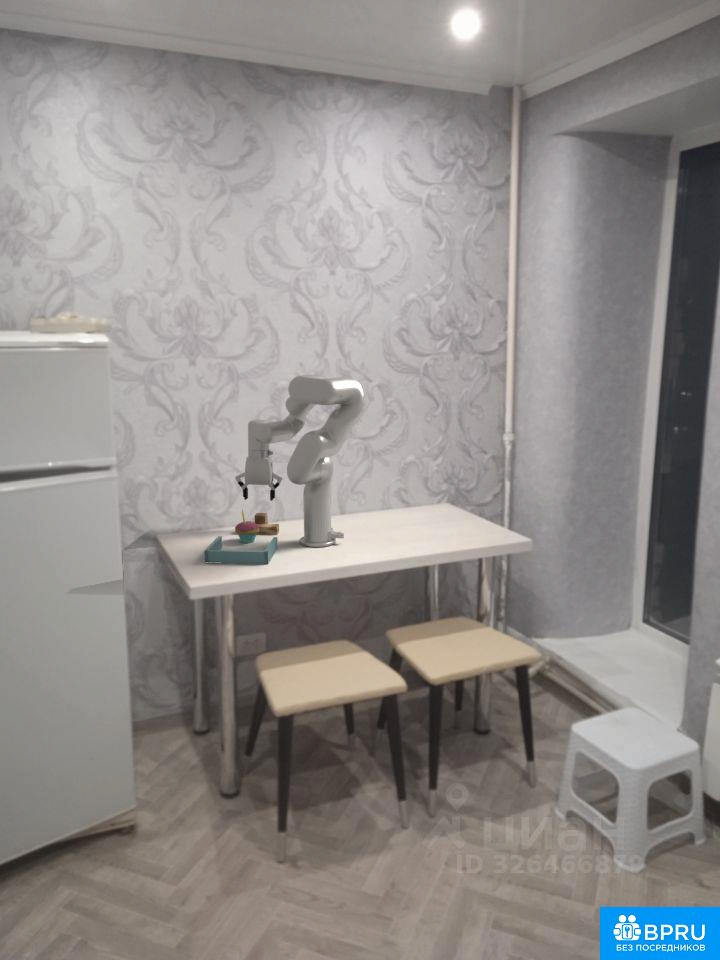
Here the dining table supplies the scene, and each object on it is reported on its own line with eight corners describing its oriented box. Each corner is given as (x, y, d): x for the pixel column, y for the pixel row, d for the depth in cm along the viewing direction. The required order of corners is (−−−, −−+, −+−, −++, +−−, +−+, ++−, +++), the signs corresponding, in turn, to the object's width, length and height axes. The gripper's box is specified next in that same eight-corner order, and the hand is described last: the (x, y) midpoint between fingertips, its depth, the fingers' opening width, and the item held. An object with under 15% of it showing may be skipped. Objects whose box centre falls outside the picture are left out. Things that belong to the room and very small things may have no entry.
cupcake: (248, 546, 251) (247, 512, 249) (230, 542, 255) (228, 509, 253) (264, 540, 258) (263, 507, 256) (246, 536, 262) (244, 504, 260)
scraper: (281, 528, 273) (280, 513, 271) (277, 534, 265) (276, 519, 264) (244, 528, 274) (243, 512, 272) (239, 534, 266) (238, 518, 265)
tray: (277, 548, 248) (277, 537, 247) (267, 564, 231) (267, 552, 230) (218, 547, 249) (218, 536, 249) (204, 563, 233) (204, 551, 232)
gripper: (283, 452, 269) (283, 497, 272) (237, 451, 270) (238, 496, 274) (280, 456, 261) (280, 502, 265) (232, 455, 262) (233, 501, 266)
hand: (259, 499), depth 269 cm, fingers open, 9 cm apart
